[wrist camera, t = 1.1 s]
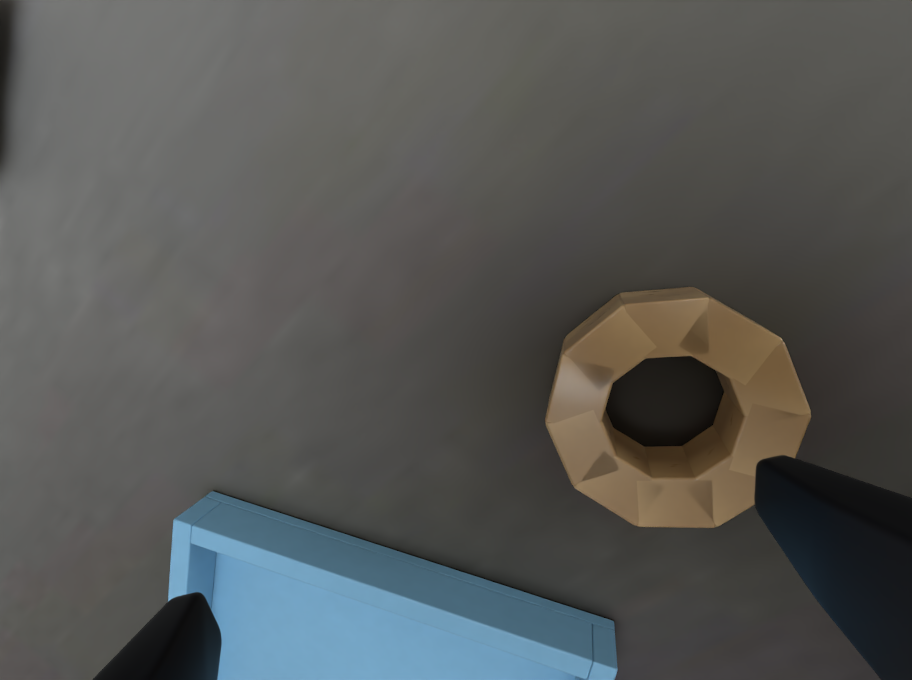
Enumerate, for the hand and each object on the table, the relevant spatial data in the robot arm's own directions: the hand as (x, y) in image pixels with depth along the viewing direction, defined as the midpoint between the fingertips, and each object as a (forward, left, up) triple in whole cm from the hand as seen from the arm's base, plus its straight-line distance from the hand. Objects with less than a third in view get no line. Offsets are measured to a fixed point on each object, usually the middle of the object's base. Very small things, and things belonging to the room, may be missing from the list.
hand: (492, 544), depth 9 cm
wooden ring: (-4, 0, -10) cm, 11 cm away
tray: (+4, +16, -10) cm, 19 cm away
